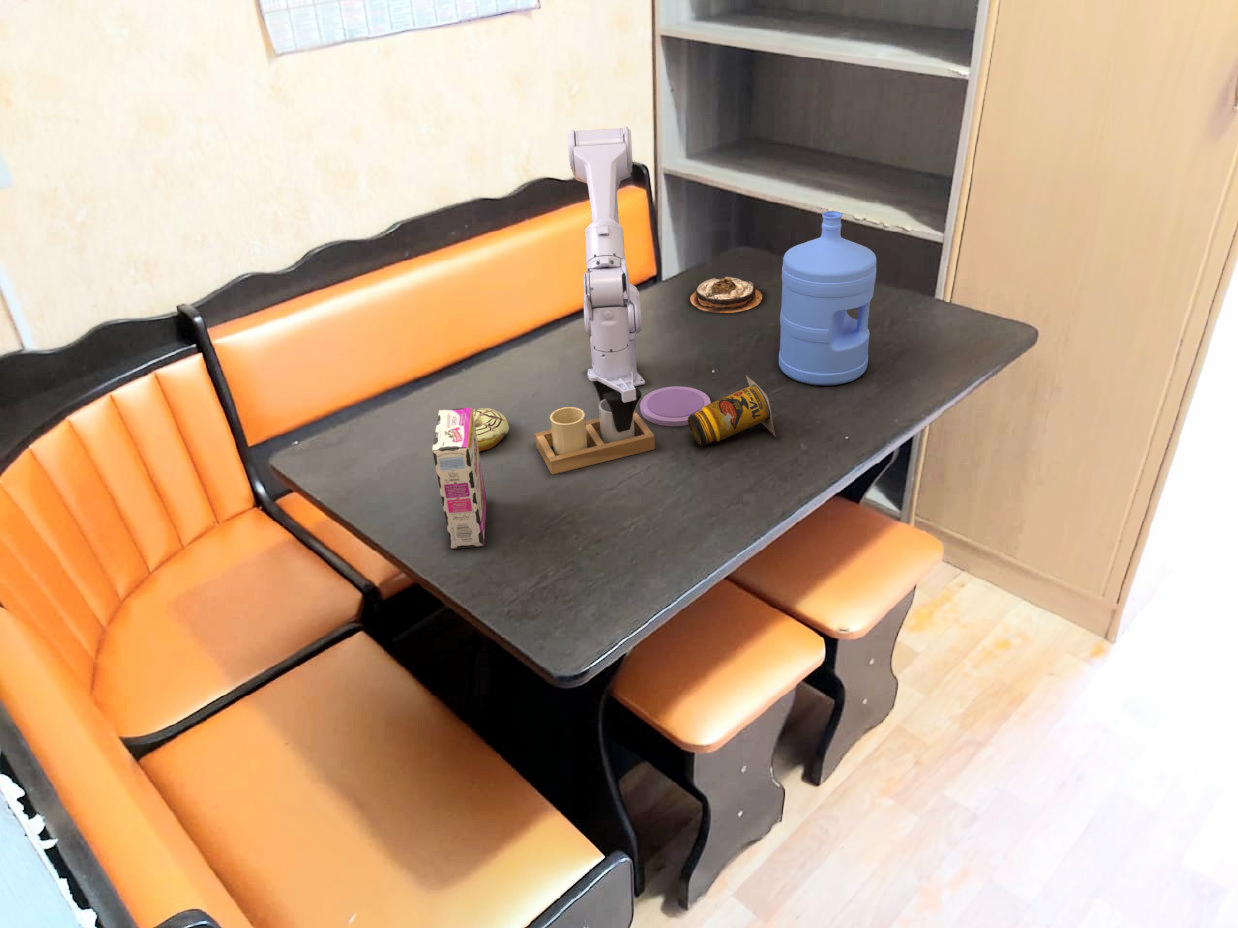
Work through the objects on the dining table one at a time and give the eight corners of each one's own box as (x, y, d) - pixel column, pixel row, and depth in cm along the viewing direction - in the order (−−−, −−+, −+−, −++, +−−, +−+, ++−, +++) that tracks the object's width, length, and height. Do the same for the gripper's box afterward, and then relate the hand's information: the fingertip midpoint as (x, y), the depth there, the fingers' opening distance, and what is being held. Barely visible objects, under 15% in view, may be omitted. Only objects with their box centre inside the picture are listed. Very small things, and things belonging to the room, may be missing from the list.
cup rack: (536, 446, 149) (534, 433, 148) (635, 422, 154) (634, 409, 152) (551, 475, 142) (550, 461, 141) (655, 449, 146) (654, 435, 145)
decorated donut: (522, 435, 152) (519, 416, 150) (472, 464, 146) (468, 444, 144) (481, 416, 159) (478, 397, 156) (431, 443, 152) (427, 423, 150)
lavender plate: (630, 400, 160) (629, 394, 159) (693, 385, 163) (693, 379, 162) (655, 432, 150) (655, 426, 150) (722, 416, 153) (722, 410, 153)
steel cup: (597, 438, 150) (594, 400, 146) (628, 430, 152) (625, 393, 148) (608, 454, 146) (605, 416, 142) (640, 446, 147) (637, 408, 143)
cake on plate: (735, 319, 185) (736, 299, 183) (676, 303, 194) (675, 284, 191) (775, 293, 194) (775, 275, 192) (716, 280, 203) (716, 262, 200)
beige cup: (550, 449, 148) (545, 411, 144) (582, 441, 150) (578, 404, 146) (560, 465, 144) (555, 427, 140) (592, 457, 145) (589, 419, 141)
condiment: (767, 394, 142) (697, 424, 140) (776, 437, 147) (709, 467, 145) (747, 374, 148) (680, 403, 146) (756, 416, 153) (691, 445, 151)
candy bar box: (486, 547, 128) (468, 447, 119) (450, 550, 128) (429, 451, 119) (489, 500, 137) (472, 405, 128) (455, 504, 137) (436, 408, 128)
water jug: (769, 381, 162) (773, 227, 147) (789, 343, 174) (795, 197, 159) (858, 393, 157) (873, 233, 142) (873, 353, 169) (888, 202, 154)
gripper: (571, 330, 144) (579, 406, 151) (601, 369, 132) (608, 448, 140) (614, 322, 146) (619, 396, 153) (647, 359, 134) (651, 438, 142)
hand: (616, 421), depth 147 cm, fingers closed on steel cup, 5 cm apart
